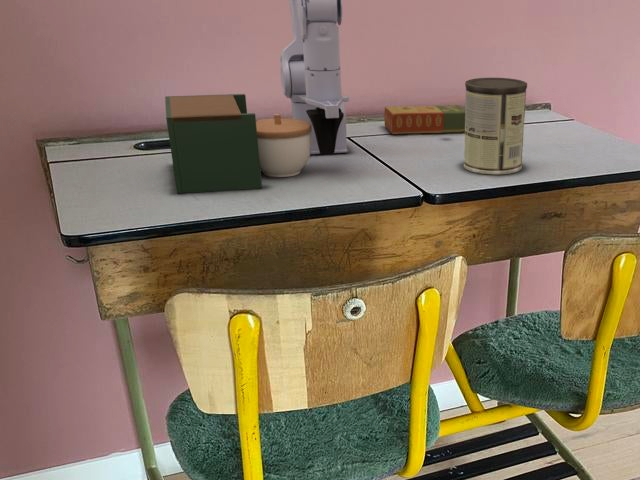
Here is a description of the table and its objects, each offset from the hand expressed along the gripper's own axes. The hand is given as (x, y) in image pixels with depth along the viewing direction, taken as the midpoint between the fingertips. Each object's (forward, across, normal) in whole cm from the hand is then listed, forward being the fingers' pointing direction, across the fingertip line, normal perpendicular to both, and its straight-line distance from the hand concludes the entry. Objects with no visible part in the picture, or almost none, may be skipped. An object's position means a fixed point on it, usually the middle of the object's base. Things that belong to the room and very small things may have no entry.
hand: (327, 154), depth 137 cm
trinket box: (+3, 0, +8) cm, 8 cm away
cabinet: (+3, 0, +18) cm, 18 cm away
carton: (+3, +26, -25) cm, 37 cm away
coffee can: (+3, -4, -28) cm, 29 cm away
